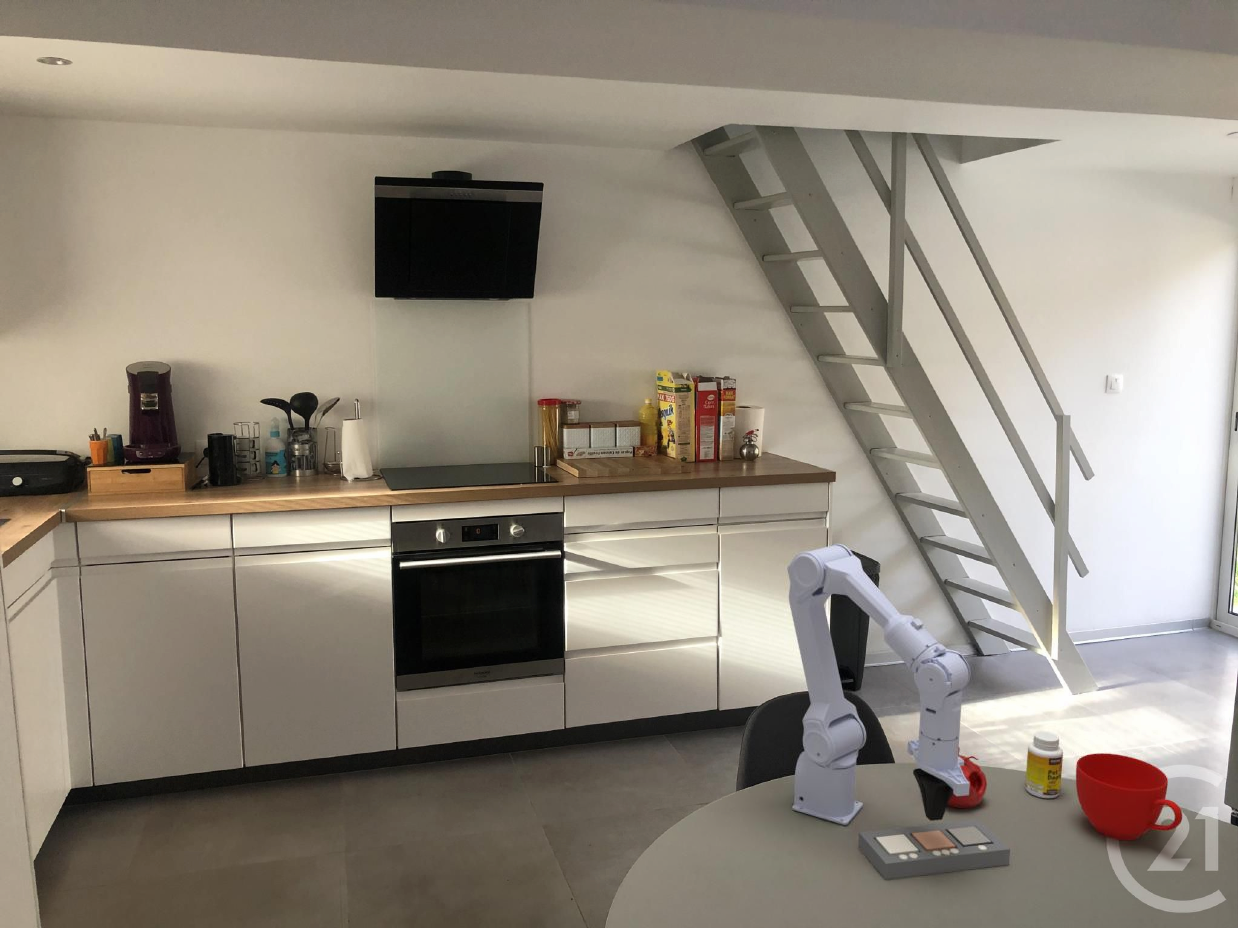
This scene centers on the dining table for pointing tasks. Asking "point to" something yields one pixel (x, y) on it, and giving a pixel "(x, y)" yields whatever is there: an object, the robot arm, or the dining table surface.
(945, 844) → the button three dot
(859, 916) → the dining table surface
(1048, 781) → the supplement bottle
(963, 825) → the button panel
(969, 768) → the red hollow rounded sculpture
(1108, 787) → the ceramic cup
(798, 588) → the robot arm
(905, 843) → the button two dot
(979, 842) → the button one dot
